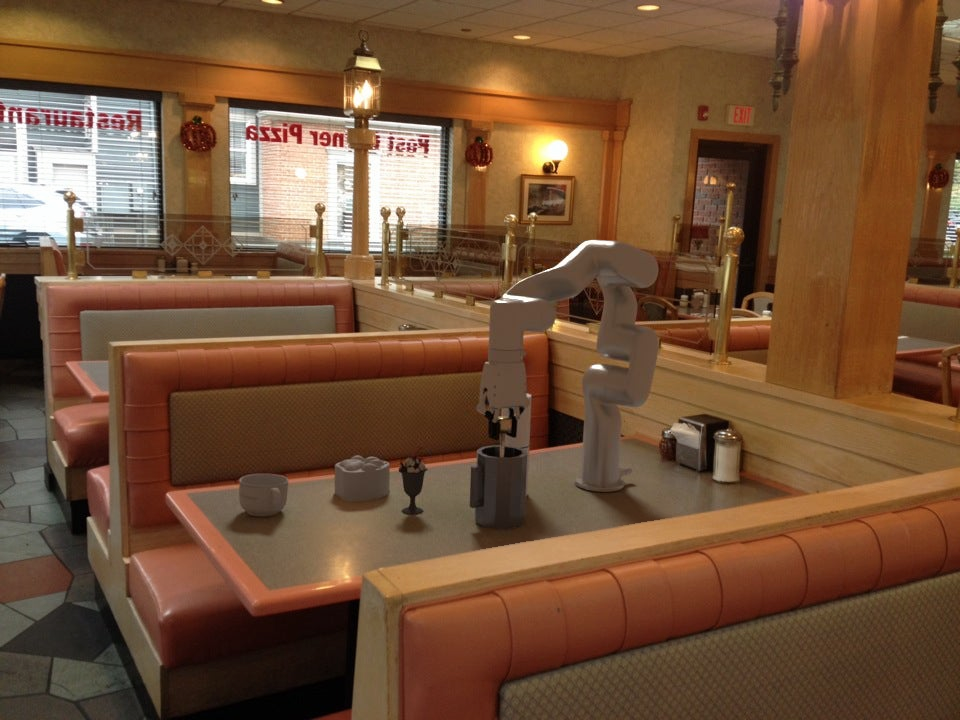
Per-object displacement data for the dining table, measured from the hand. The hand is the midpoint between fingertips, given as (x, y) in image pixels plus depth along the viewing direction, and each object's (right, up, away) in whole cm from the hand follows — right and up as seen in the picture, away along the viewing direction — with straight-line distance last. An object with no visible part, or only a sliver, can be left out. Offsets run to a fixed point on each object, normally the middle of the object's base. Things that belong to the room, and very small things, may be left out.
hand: (502, 436), depth 194 cm
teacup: (-53, -18, +2) cm, 56 cm away
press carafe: (-2, -19, +3) cm, 20 cm away
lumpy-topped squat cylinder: (-33, -16, +19) cm, 42 cm away
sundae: (-21, -18, +8) cm, 28 cm away
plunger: (-1, -17, +3) cm, 17 cm away
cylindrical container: (+3, -16, +22) cm, 28 cm away
